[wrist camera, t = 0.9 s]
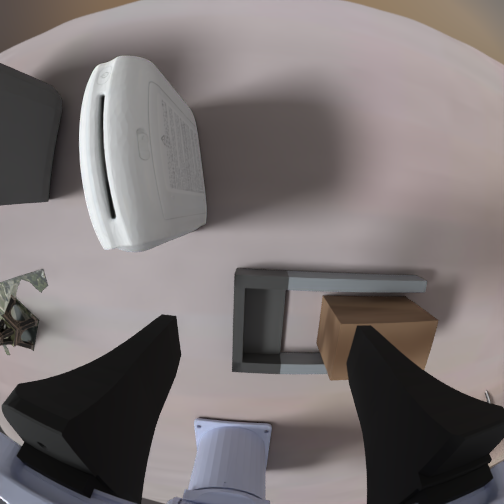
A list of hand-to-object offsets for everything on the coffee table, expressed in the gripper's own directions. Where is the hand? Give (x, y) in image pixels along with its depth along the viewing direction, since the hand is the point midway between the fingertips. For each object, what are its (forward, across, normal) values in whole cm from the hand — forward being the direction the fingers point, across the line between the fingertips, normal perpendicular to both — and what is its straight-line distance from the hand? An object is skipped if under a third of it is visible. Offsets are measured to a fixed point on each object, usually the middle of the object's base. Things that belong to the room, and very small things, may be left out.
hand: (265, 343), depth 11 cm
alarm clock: (+14, +27, -9) cm, 32 cm away
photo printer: (+14, +7, -5) cm, 16 cm away
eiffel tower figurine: (+11, +28, +10) cm, 32 cm away
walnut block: (+12, -9, +7) cm, 16 cm away
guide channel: (+12, -6, +7) cm, 14 cm away
